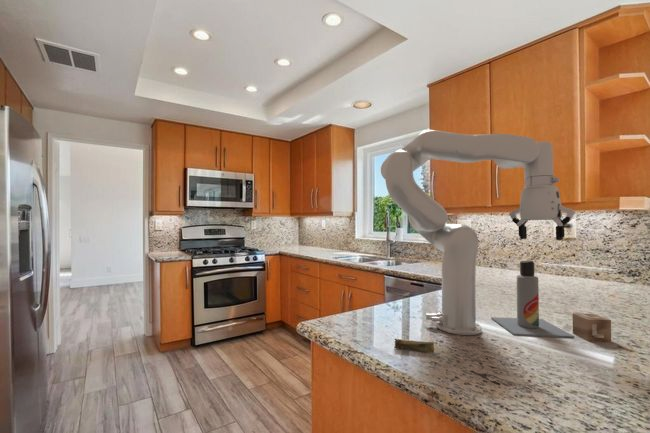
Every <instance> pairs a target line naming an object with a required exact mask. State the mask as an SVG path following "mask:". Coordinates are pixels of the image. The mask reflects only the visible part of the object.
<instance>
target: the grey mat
mask: <svg viewBox="0 0 650 433" xmlns="http://www.w3.org/2000/svg"><path fill="white" fill-rule="evenodd" d="M490 319H491V320H492V321H493V322H495V323H496V324H497V325H499V326H500V327H502V328H503V329H505V331H507V332H508V333H510V334H511V335H512V336H522V337H540V338H541V337H544V338H545V337H547V338H562V337H566V339H575V336H574V334H571V333H569V332H568V331H565V330H564V329H561V328H560V327H558V326H556V325H554V324H552V323H550V322H549V321H546V320H544V319H543V318H539V327H538V328H526V327H522V326H519V325H518V324H517V317H516V318H515V317H496V316H494V317H493V316H491V317H490Z"/></svg>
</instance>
